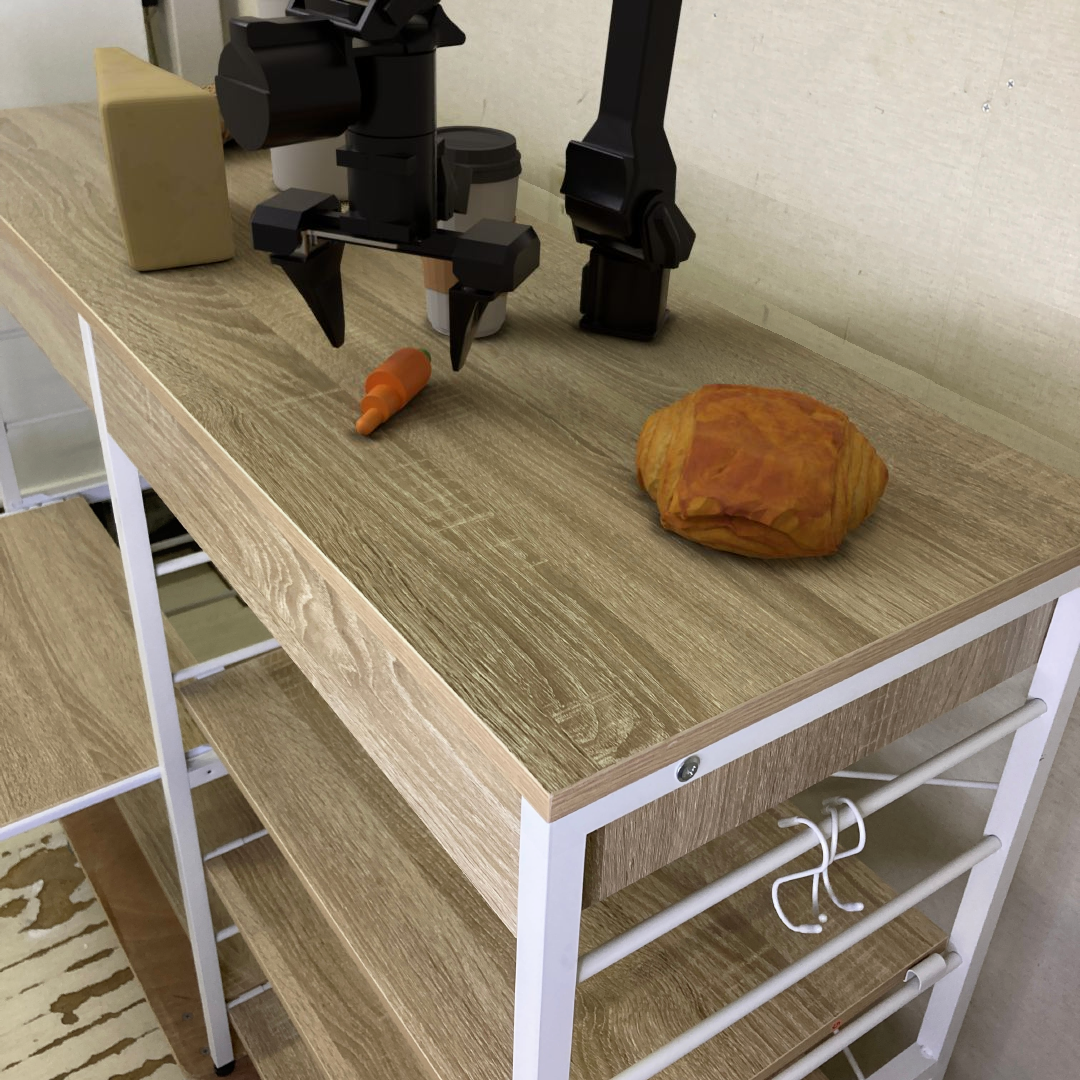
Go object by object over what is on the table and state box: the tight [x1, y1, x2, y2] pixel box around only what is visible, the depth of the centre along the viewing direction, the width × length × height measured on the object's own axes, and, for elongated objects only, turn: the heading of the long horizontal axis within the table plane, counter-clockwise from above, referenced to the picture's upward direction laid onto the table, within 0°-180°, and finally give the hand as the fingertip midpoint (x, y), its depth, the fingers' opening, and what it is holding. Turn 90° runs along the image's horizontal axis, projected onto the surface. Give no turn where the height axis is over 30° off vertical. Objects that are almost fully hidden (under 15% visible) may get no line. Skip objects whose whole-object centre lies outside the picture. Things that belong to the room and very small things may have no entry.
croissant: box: [634, 383, 890, 560], centre depth 67 cm, size 14×16×8 cm
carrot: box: [355, 346, 432, 436], centre depth 77 cm, size 10×3×3 cm, turn 161°
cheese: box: [93, 46, 235, 272], centre depth 102 cm, size 22×10×15 cm, turn 29°
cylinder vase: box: [256, 0, 368, 202], centre depth 114 cm, size 12×12×25 cm
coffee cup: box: [421, 125, 523, 339], centre depth 87 cm, size 8×8×15 cm
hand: (397, 357), depth 77 cm, fingers open, 9 cm apart
